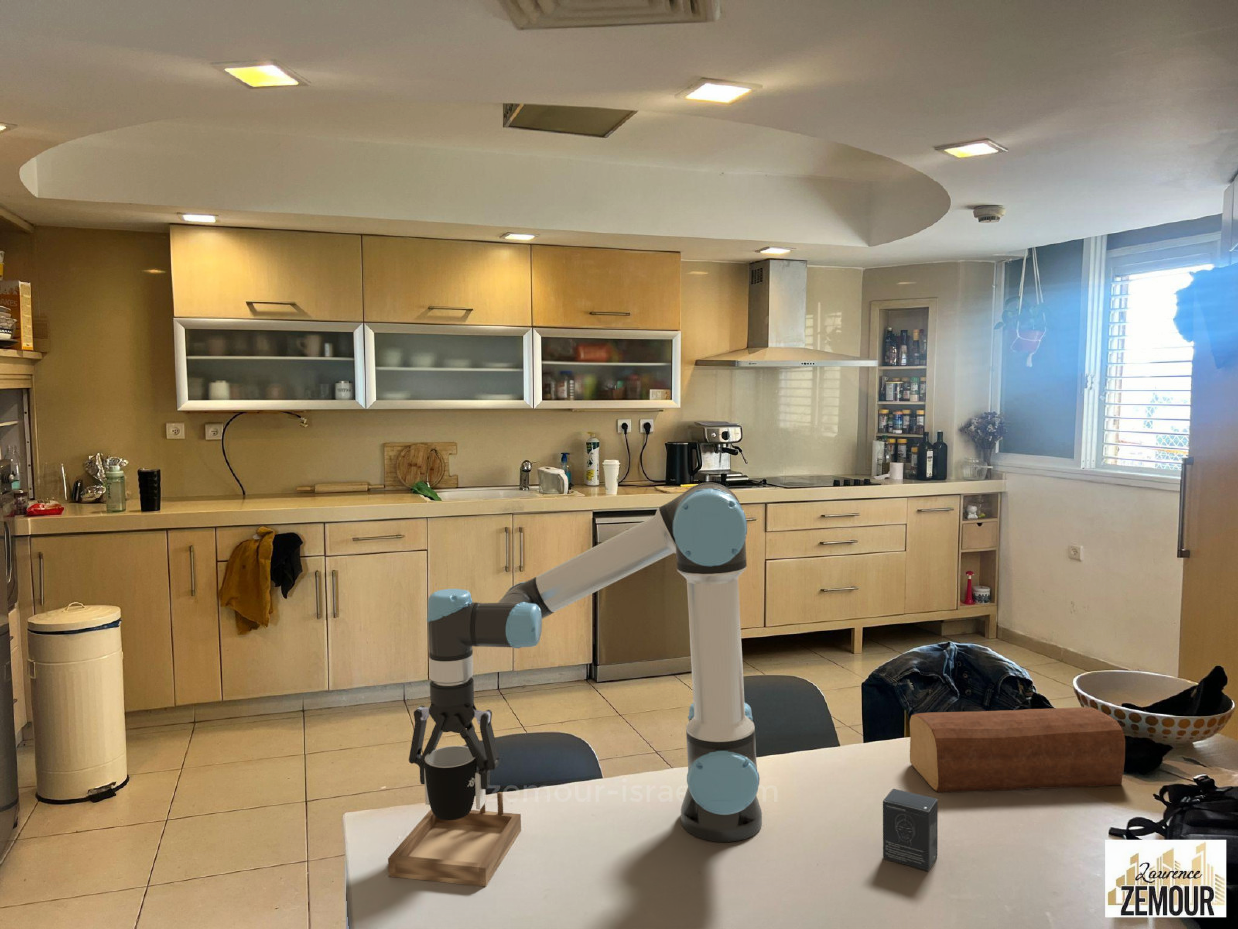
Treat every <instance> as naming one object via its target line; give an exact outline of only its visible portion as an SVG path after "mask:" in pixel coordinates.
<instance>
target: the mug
mask: <svg viewBox="0 0 1238 929" xmlns="http://www.w3.org/2000/svg"><path fill="white" fill-rule="evenodd" d="M424 764H425V778H426V786H427V793H428V799H429V803H430V805H429V806H430V810H432V812H433V814H434V815H435V817H437V818H438V819H441V820H457V819H460V818H463V817H465V816H466V815H468V814H469V813H470V811H471V810H473V806H474V801H475V798H476V790H475V773H476V771H477V770H478V767H477V765H476V759H475V757H474V758H473V757H472V754H471V752H470V750H469V748H468V746H463V745H449V746H448V745H447V746H444V747H443V746H442V747H439V748H436V749H435V750H433V751H432V753H431V754H430V755H429V754H427V755H426V757H425V761H424Z"/></svg>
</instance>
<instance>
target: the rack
mask: <svg viewBox="0 0 1238 929" xmlns="http://www.w3.org/2000/svg"><path fill="white" fill-rule="evenodd" d="M496 794H497V795H496V799H497V811H487V810H486V803H485V804H484V805H483V806H482V808H481V809H471V811H470V813H469V814H468V815H466V816H465V817H463V818H460V819H457V820H441V819H438V818H437V817H435V815H434V814H433V812H432V810H431V809H429V810H428V812H427V813H426V814H425V815H424V816H423V818H422V819H421V820H420V821H419V822H418V823H417V824H416V826H414V828H413V829H412V830H411V832H409V833H408V835H407V836H406V837H405V838H404V840H403V841H402V842H401V843H400V844H399V845H397V847H396V849H395V850H394V851H393V852H392V853H391V854H390V856H388V858H387V864H388V865H387V866H388V877H389V878H390V877H392V878H400V879H410V880H421V881H430V882H440V883H446V884H447V883H448V884H460V885H469V886H477V887H487V886H488V884H489V883H490V881H491V879H492V878H493V876H494V875H495V873H496V872H497V870H498V868H499V867H500V866H501V864H502V862H503V861H504V859H505V857H506V855H507V854H508V853H509V851H510V849H511V847H512V846H513V844H514V843H515V841H516V839H517V838H518V837H519V835H520V834H521V832H522V820H521V818H522V816H521V813H512V812H504V795H503V794H504V793H503V792H502V791H499V792H497V793H496Z"/></svg>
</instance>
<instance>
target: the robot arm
mask: <svg viewBox="0 0 1238 929" xmlns="http://www.w3.org/2000/svg"><path fill="white" fill-rule="evenodd" d="M747 533H748V522H747V516H746V514H745V511H744V508H743V507H742V506H741V502H740V501H739V498H738V497H737V495H736V494H735V493H734V492H733V491H732V490H730V489H729V488H728V487H726V486H724V485H722V484H720V483H716V482H710V481H707V482H702V483H698V484H696V485H693V486H691V487H689V488H688V489H687V490H685V491H684V492H683V493H681V494H679V495H678V496H677V497H675V498H674V499H672V500H671V501H669V502H667V503H665V504H663V505H661V506H659V507H658V508H657V509H656V511H655V515H654V516H652V517H650V518H648V519H646V520H644V521H642V522H640V523H638V524H636V525H634V526H633V527H631V528H628V529H626V530H625V531H622V532H620V533H619V534H616V535H615V536H613V537H610V538H609V539H607V540H605V541H603V542H601V543H599V544H596V545H595V546H593V547H591V548H589V549H587V550H586V551H584V552H581V553H579V554H577V555H576V556H574V557H572V558H570V559H567V560H566V561H564V562H561V563H560V564H558V565H556V566H554V567H552V568H550V569H548V570H546V571H544V572H542V573H540V574H538V575H536V576H535V577H533V578H531V579H529V580H527V581H521V582H519V583H516V584H514V585H513V586H511V587H510V588H509V589H508V591H506V592H505V594H504V595H503V597H502V598H501V599H500V600H498V602H478V601H477V602H474V601H473V599H472V594H471V593H470V591H469V590H467V589H460V588H445V589H441V590H440V589H439V590H436V591H435V592H432V593H431V594H430V595H429V596H428V600H427V617H426V622H427V636H428V638H427V639H428V660H429V661H428V663H429V664H428V668H429V670H428V672H429V674H428V675H429V676H428V677H429V679H430V680H431V681H430V682H429V695H430V696H429V699H430V706H427V707H426V706H425V705H420V706H418V708H416V709H415V710H414V711H413V719H414V728H413V731H412V732H413V733H412V739H411V743H410V744H411V745H410V751H409V755H408V756H409V757H408V762H409V763H410V764H411V765H413V764H415V765H417V766H418V768H419V782H420V785H424V802H425V806H426V805H427V806H430V803H429V799H428V793H427V786H426V778H425V764H424V761H425V757H426V755H427V754H429V755H430V754H431V753H432V751H433V750H435V749H437V746H438V744H439V743H440V742H439V741H441V740H440V739H441V737H442V735H443V733H450V732H451V733H455V734H459V735H460V737H461V739H463V740H464V742H465V744H466V747H468V748H469V750H470V752H471V754H472V757H473V758H474V757H475V759H476V765H477V771H476V773H475V810H480V809H481V808H482V806H483V805H484V804H485V805H486V802H487V800H486V790H487V789H488V788H489V787H490V784H491V781H490V780H491V778H490V777H491V774H490V773H491V772H490V771H494V770H495V769H496V768H497V767H498V765H499V764H500V763H501V758H500V755H499V750H498V747H497V742H496V738H495V733H494V729H493V725H492V719H493V712H492V710H491V709H486V710H480V709H477V707H476V705H475V701H474V700H475V687H474V684H475V682H474V678H473V675H474V656H473V655H474V654H473V650H474V649H473V648H474V647H475V648H477V647H478V648H479V647H480V648H481V647H484V648H513V649H521V648H534V647H536V646H537V645H539V642H540V641H541V636H542V630H543V628H542V627H543V626H542V625H543V619H545V618H547V617H549V616H550V615H552V614H554V613H555V612H558V611H559V610H562V609H564V608H566V607H568V606H569V605H571V604H573V603H576V602H578V601H579V600H583V599H584V598H585V597H587V596H590V595H592V594H593V593H596V592H597V591H601V589H602V590H603V588H606V587H608V586H610V585H612V584H614V583H616V582H618V581H620V580H622V579H624V578H626V577H628V576H630V575H632V574H634V573H636V572H638V571H640V570H643V569H645V568H646V567H648V566H650V565H653V564H654V563H656V562H658V561H660V560H661V559H664V558H666V557H669V556H671V555H672V554H675V555H676V571H677V572H678V573H679V574H680V575H681V576H682V577H683V578H684V579H686V587H687V588H686V589H687V608H688V626H689V628H688V629H689V646H690V662H691V664H690V665H691V679H692V680H691V682H692V700H693V701H692V703H691V704H690V706H689V709H688V716H687V719H688V722H687V724H686V725H685V730H686V731H685V732H686V734H685V736H686V750H687V752H686V753H687V754H686V755H687V774H686V783H687V789H686V792H685V795H684V798H683V801H682V804H681V808H680V824H681V826H682V827H683V829H684V830H685V831H686V832H687V833H689V834H690V835H692V836H694V837H695V838H699V839H702V840H706V841H708V842H709V841H710V842H718V843H731V842H739V841H743V840H747V839H749V838H751V837H753V836H755V835H756V834H758V833H759V832H760V830H761V829H762V827H763V826H762V825H763V812H762V808H761V805H760V803H759V799H758V796H757V794H758V792H759V786H760V778H761V777H760V773H759V771H758V763H757V750H756V749H757V747H756V745H757V744H756V731H755V730H756V729H755V728H756V727H755V723H754V722H753V720H754V719H753V718H754V717H753V715H752V708H751V706H750V705H749V704H748V703H747V702H745V689H744V686H745V685H744V669H743V668H744V667H743V650H742V649H743V648H742V646H743V645H742V629H741V628H742V626H741V611H740V610H741V608H740V588H739V586H740V585H739V578H740V576H741V574H743V573H744V572H745V570H747V566H748V565H747V546H746V541H747V540H746V539H747ZM430 717H431V719H432V720H433V722H434V723H435V725H434V726H433V729H432V731H431V735H430V736H429V739H428V741H427V744H426V746H425V748H424V751H423V752H422V750H423V744H424V740H425V734H426V728H427V723H428V718H430ZM474 719H476V722H477V725H479V730H480V735H481V739H482V743H481V741H480V739H479V736H478V735H477V733H476V728H475V726H474V724H473V720H474Z"/></svg>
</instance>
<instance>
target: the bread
mask: <svg viewBox="0 0 1238 929" xmlns="http://www.w3.org/2000/svg"><path fill="white" fill-rule="evenodd" d="M909 737H910V738H909V739H910V740H909V741H910V742H909V763H910V764H911V765H912V766H913V768H914V769H915V770H916V771H917V772H918V773H919V775H921V777H923V779H924V780H925V781H926V782H927V783H928V785H929V786H930V787H931V788H932V789H933V790H934V791H936V792H937V793H951V792H952V793H953V792H955V793H956V792H958V793H959V792H974V791H975V792H979V791H1004V790H1005V791H1007V790H1009V791H1010V790H1025V789H1026V790H1027V789H1028V790H1029V789H1031V790H1032V789H1056V788H1057V789H1058V788H1072V787H1073V788H1076V787H1077V788H1078V787H1079V788H1080V787H1101V786H1117V785H1118V786H1120V785H1122V783H1123V775H1124V770H1125V762H1126V759H1125V758H1126V738H1125V734H1124V730H1123V728H1122V726H1121V725H1120V723H1119V722H1118V721H1117V720H1116V719H1114V718H1113V717H1112V716H1110V715H1108V714H1106V713H1104V712H1103V711H1100V710H1099V709H1097V708H1094V707H1092V706H1091V707H1089V706H1088V707H1087V706H1086V707H1084V706H1081V707H1079V706H1078V707H1058V708H1057V707H1056V708H1028V709H1014V710H1012V709H1011V710H987V711H986V710H983V711H982V710H981V711H948V712H947V711H944V712H943V711H941V712H939V711H937V712H936V711H935V712H934V711H933V712H920V713H914V714H911V716H910V719H909Z"/></svg>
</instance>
